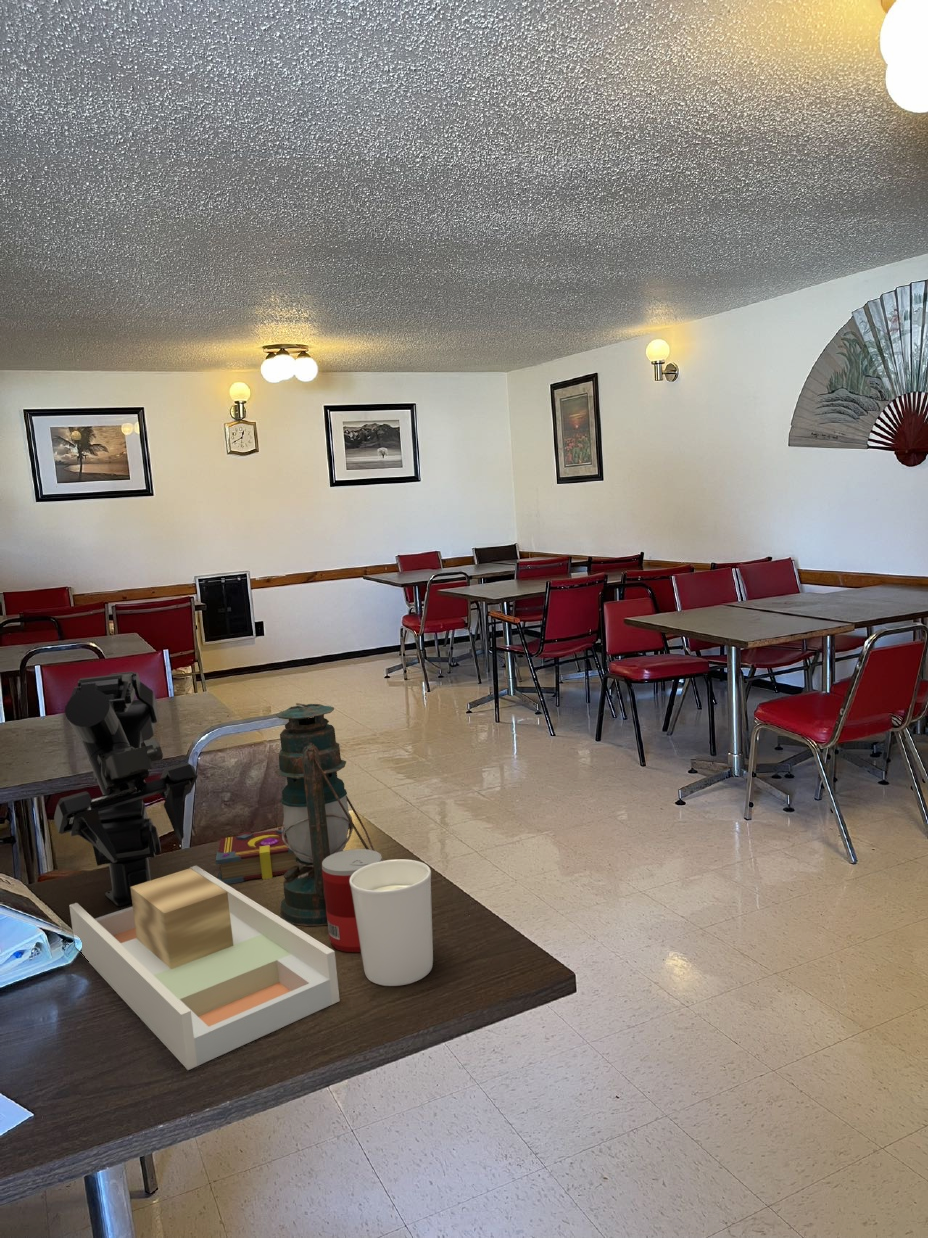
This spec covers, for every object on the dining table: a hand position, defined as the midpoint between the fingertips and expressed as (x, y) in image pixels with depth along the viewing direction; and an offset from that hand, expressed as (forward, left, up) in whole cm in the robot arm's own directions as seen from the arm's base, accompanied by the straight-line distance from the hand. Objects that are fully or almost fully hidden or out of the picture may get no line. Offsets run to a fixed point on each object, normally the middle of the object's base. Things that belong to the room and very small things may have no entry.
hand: (149, 849), depth 122 cm
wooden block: (+11, 0, -10) cm, 14 cm away
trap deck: (+13, 0, -13) cm, 18 cm away
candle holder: (+32, +18, -13) cm, 39 cm away
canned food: (+22, +19, -13) cm, 31 cm away
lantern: (+9, +22, -13) cm, 27 cm away
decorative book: (-13, +23, -13) cm, 29 cm away
